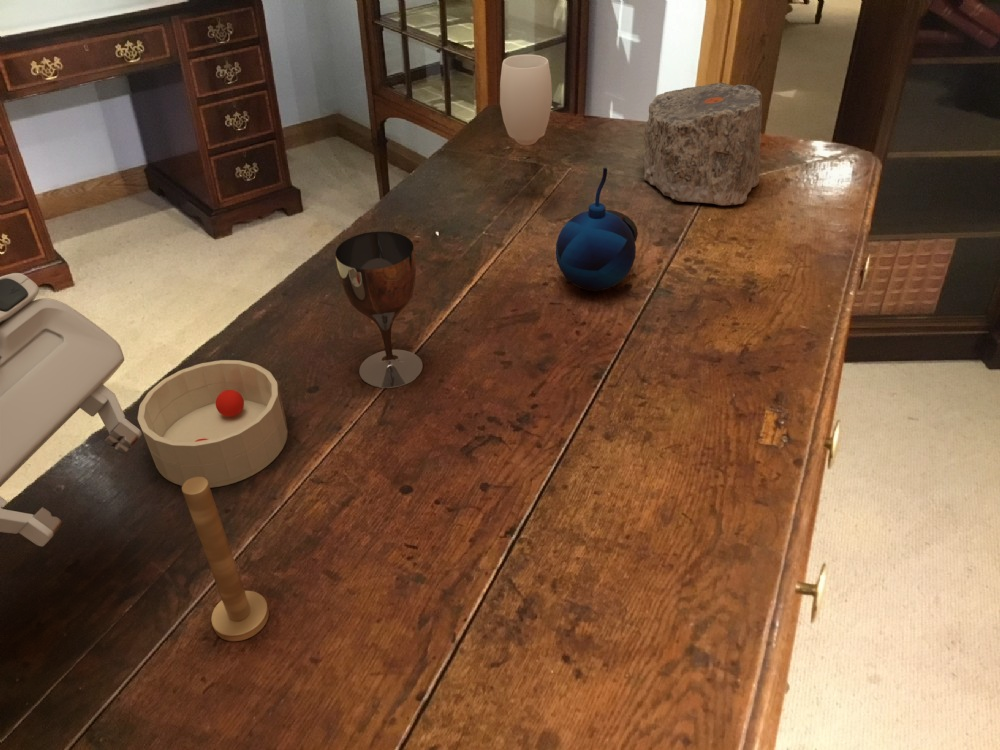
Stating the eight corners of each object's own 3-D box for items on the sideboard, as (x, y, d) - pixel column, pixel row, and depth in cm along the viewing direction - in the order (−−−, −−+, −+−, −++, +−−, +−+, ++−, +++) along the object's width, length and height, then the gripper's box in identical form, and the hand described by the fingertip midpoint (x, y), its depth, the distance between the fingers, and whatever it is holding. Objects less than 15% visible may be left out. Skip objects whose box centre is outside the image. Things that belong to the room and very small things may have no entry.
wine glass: (435, 379, 93) (423, 259, 84) (365, 397, 91) (345, 276, 82) (414, 341, 99) (401, 225, 90) (347, 358, 97) (327, 240, 88)
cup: (493, 204, 127) (487, 63, 115) (525, 187, 132) (522, 49, 119) (530, 217, 123) (528, 73, 111) (561, 200, 128) (563, 59, 115)
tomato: (215, 422, 88) (208, 400, 86) (224, 404, 90) (218, 384, 88) (241, 422, 88) (235, 401, 86) (250, 405, 90) (244, 384, 88)
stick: (205, 640, 67) (151, 506, 58) (224, 595, 71) (176, 462, 62) (259, 643, 67) (214, 509, 58) (275, 597, 70) (235, 464, 61)
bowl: (131, 486, 82) (114, 443, 78) (183, 399, 92) (169, 358, 89) (265, 490, 80) (253, 447, 77) (302, 402, 91) (293, 361, 88)
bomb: (650, 273, 110) (659, 163, 101) (610, 313, 103) (616, 198, 94) (583, 255, 114) (586, 148, 105) (541, 291, 107) (540, 180, 98)
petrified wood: (637, 159, 139) (643, 65, 130) (745, 157, 138) (758, 63, 129) (648, 211, 124) (656, 109, 115) (769, 209, 123) (786, 106, 114)
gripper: (-207, 439, 47) (11, 585, 51) (37, 261, 63) (189, 382, 67) (-227, 486, 51) (-22, 619, 54) (8, 306, 66) (154, 419, 70)
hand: (96, 487), depth 61 cm, fingers open, 8 cm apart
